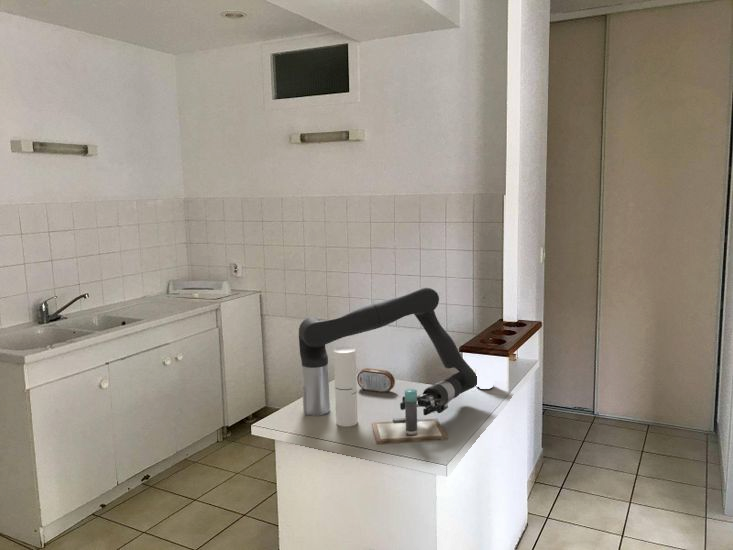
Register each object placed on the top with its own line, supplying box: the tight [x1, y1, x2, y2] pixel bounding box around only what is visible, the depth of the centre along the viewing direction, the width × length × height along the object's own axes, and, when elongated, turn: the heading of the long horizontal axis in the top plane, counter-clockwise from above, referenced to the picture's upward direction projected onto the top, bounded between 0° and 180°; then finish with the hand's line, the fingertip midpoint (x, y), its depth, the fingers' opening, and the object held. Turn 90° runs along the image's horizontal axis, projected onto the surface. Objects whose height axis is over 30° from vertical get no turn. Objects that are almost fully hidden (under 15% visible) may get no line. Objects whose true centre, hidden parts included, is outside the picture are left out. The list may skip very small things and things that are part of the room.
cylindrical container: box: [333, 346, 359, 428], centre depth 202 cm, size 7×7×25 cm
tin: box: [356, 368, 396, 393], centre depth 234 cm, size 15×3×8 cm, turn 66°
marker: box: [404, 388, 418, 436], centre depth 189 cm, size 4×4×14 cm
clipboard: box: [371, 417, 448, 445], centre depth 194 cm, size 22×15×2 cm
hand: (412, 409), depth 189 cm, fingers open, 8 cm apart
